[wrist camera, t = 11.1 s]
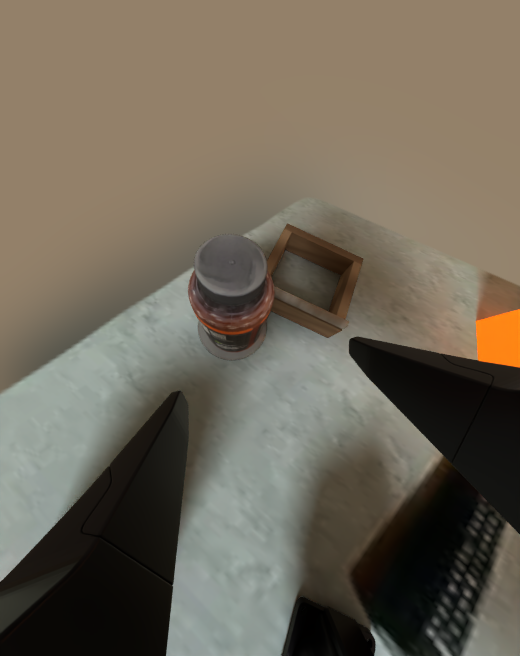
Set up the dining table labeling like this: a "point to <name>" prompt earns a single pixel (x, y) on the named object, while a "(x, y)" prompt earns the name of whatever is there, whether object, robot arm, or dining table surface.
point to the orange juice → (499, 339)
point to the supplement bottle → (231, 291)
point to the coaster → (230, 355)
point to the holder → (324, 257)
